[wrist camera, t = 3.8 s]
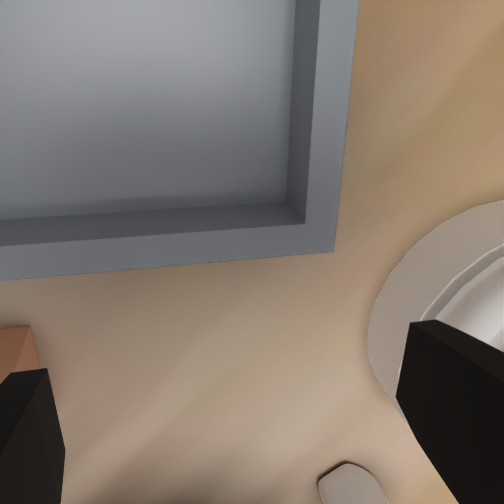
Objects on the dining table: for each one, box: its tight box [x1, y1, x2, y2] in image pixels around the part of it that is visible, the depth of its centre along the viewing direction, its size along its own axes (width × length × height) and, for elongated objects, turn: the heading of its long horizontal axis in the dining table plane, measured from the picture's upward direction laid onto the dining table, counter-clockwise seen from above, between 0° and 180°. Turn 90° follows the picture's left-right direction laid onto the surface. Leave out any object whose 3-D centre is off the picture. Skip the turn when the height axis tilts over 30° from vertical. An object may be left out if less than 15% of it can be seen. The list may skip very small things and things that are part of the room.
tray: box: [0, 0, 359, 281], centre depth 14 cm, size 18×14×3 cm
